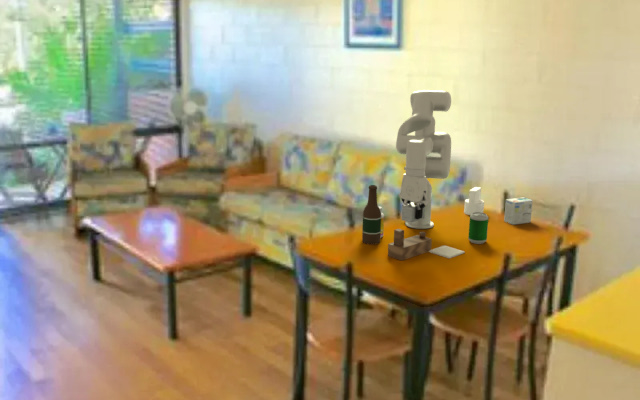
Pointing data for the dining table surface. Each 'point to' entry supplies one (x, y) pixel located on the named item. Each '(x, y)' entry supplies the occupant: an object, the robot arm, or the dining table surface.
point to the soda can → (478, 228)
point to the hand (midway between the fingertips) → (413, 216)
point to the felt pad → (446, 251)
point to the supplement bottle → (381, 222)
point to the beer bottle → (371, 219)
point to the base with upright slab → (474, 202)
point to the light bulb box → (518, 210)
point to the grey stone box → (411, 212)
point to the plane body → (408, 245)
